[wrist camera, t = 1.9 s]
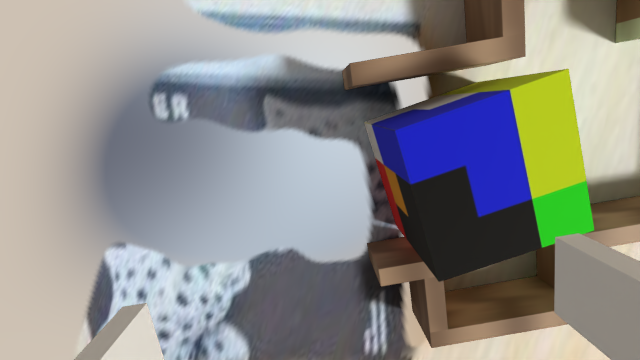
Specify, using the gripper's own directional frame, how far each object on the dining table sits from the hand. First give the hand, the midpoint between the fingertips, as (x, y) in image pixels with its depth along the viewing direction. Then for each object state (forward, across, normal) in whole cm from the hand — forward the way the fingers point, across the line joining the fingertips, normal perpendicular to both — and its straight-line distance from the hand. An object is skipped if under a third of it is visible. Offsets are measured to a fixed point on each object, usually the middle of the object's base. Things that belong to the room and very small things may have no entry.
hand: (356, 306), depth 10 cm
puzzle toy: (+19, +10, 0) cm, 21 cm away
